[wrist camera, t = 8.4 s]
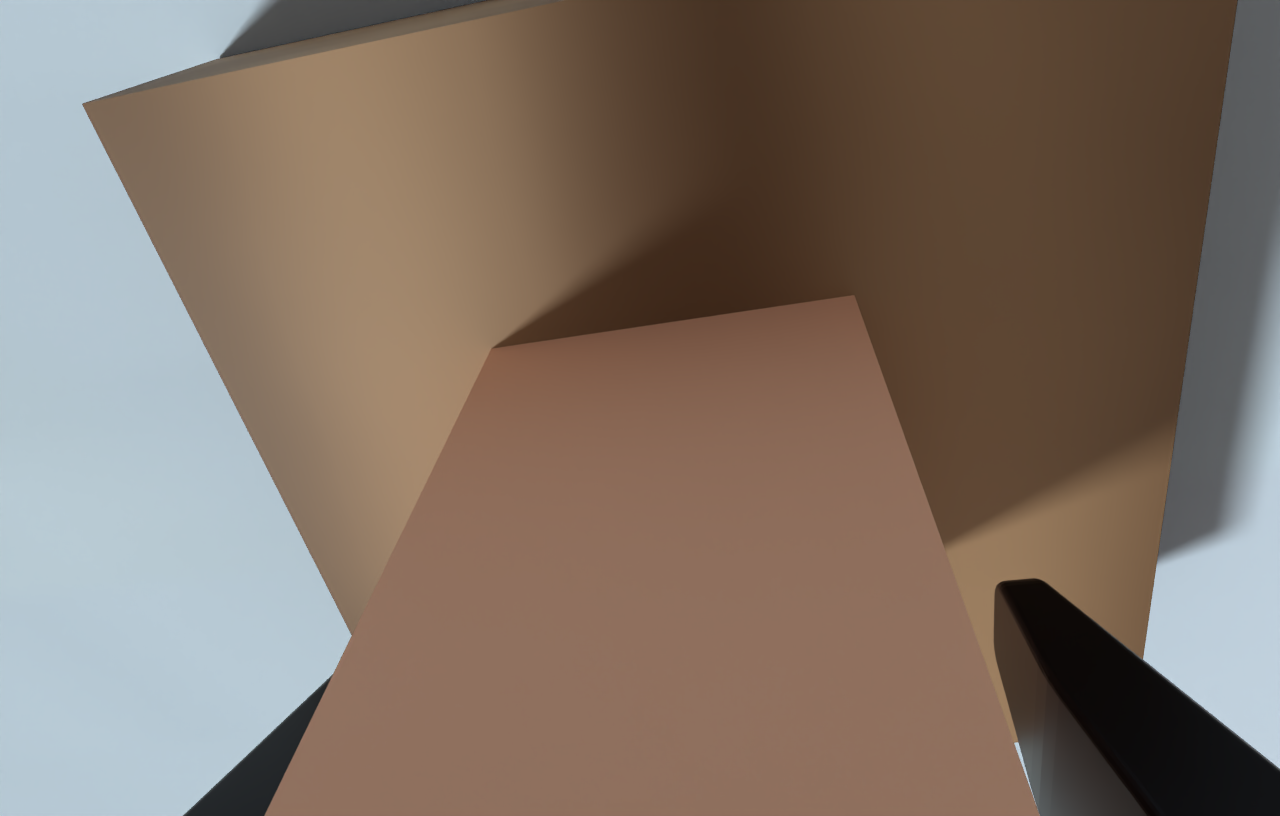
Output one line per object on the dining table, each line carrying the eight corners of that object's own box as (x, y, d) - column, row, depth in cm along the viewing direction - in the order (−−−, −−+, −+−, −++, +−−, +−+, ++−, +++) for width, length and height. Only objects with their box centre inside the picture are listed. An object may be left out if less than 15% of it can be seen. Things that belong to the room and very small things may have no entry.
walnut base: (466, 653, 18) (425, 779, 15) (215, 59, 12) (81, 103, 9) (1065, 600, 16) (1131, 735, 14) (1119, -138, 10) (1258, -148, 8)
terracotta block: (573, 608, 13) (456, 1219, 7) (491, 348, 11) (214, 921, 5) (875, 580, 12) (1031, 1236, 6) (853, 295, 10) (1066, 891, 4)
